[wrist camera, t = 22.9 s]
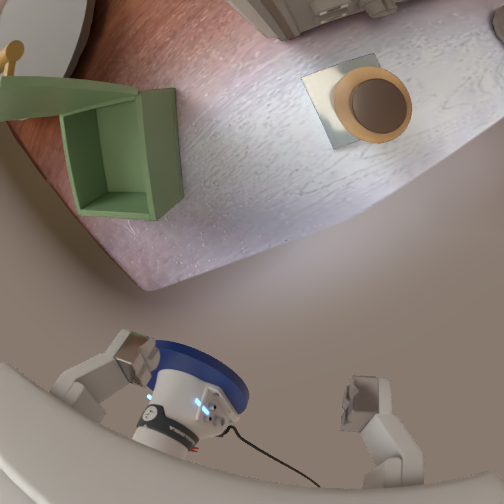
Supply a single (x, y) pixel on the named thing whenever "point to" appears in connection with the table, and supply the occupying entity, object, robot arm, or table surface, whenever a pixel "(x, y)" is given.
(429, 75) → the table surface
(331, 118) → the tile
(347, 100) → the pepper mill
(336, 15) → the toaster
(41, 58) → the flat disc
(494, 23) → the salt shaker
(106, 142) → the green box
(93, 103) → the box lid
